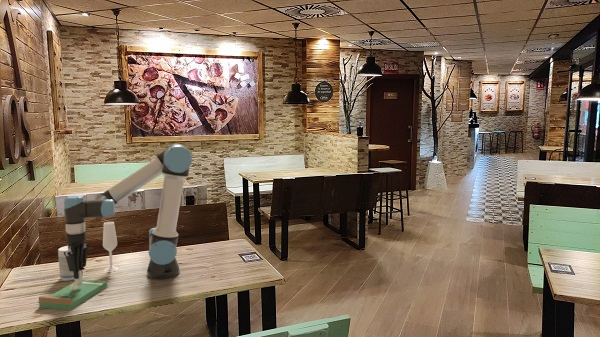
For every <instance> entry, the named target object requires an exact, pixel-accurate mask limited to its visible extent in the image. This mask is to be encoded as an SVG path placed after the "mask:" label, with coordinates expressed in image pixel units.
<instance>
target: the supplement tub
mask: <svg viewBox="0 0 600 337" xmlns="http://www.w3.org/2000/svg"><path fill="white" fill-rule="evenodd" d="M67 250H68V245H65V246H61V247H60V248H58V249H57V251H58V252H57V255H58V256H57V257H58V267H59V278H60V280H61V281H64V282H69V281H75V279H74V272H72V271H69V267H68V263H67V260H66V256H65V255H64V252H67Z"/></svg>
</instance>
